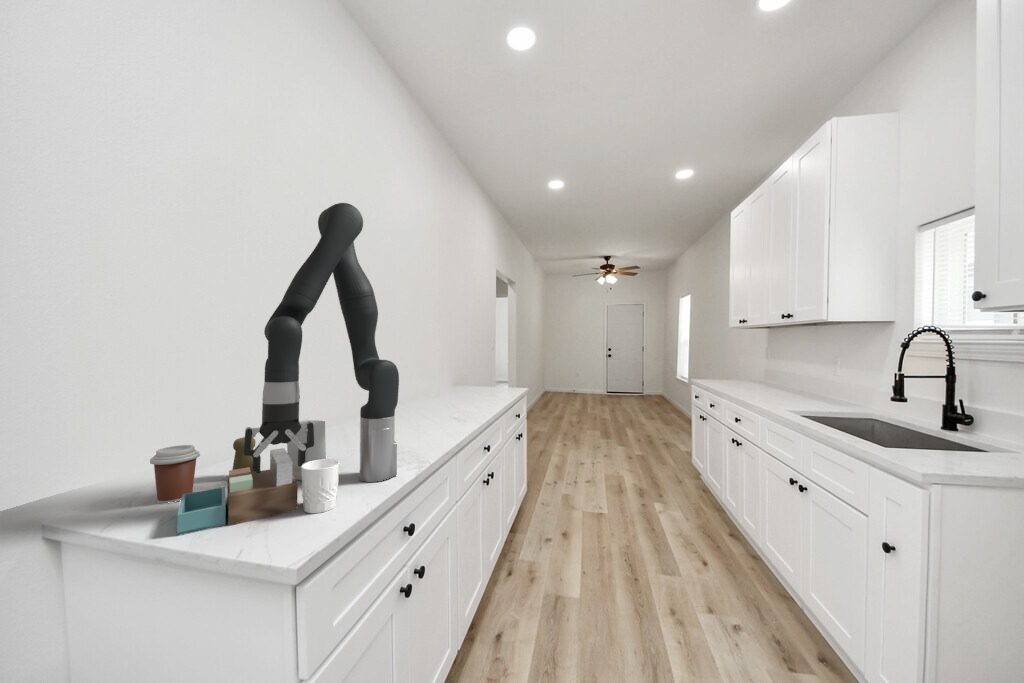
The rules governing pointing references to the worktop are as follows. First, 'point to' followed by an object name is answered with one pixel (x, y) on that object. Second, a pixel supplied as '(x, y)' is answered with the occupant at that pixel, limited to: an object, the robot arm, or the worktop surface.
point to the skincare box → (311, 453)
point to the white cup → (320, 485)
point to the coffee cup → (174, 472)
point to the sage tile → (240, 483)
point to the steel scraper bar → (281, 467)
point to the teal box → (201, 510)
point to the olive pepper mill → (242, 455)
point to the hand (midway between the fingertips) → (279, 468)
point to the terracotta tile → (239, 472)
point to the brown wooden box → (261, 499)
